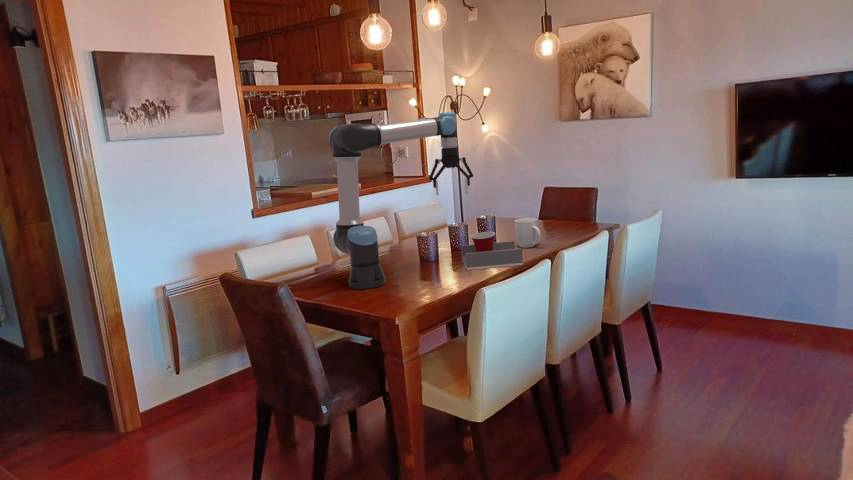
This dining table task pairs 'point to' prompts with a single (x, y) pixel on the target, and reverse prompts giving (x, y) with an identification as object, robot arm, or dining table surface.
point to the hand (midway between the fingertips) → (452, 194)
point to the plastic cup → (483, 241)
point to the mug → (527, 232)
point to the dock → (492, 256)
